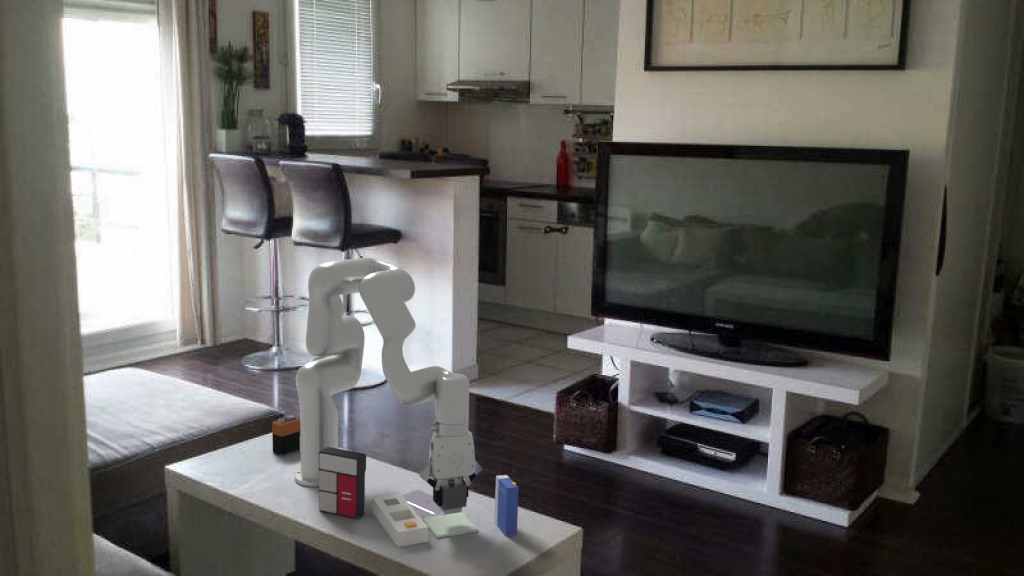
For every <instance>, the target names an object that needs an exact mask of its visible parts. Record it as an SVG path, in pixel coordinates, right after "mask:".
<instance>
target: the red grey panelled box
mask: <svg viewBox="0 0 1024 576" xmlns="http://www.w3.org/2000/svg"><path fill="white" fill-rule="evenodd" d="M366 470H367V454H366V453H363V452H359V451H351V450H347V449H342V448H338V449H337V448H331V447H327V448H325V449H323V450H321V451H319V487H318V510H319V511H320V512H324V513H330V514H334V515H339V516H344V517H349V518H353V519H359V518H361V517H362V516H363V515H364V514H365V512H366V511H365V509H366V507H365V506H366V504H365V503H366V502H365V501H366V500H365V498H366V483H365V482H366V479H365V478H366Z"/></svg>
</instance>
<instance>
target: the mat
mask: <svg viewBox="0 0 1024 576" xmlns="http://www.w3.org/2000/svg"><path fill="white" fill-rule="evenodd" d="M421 519H422V520H423V521H424V523H425V524H426V525H427V526H428V530H429V531H430V532H431V533H432V534H433V535H434V537H435V538H436V539H440V538H446V537H452V536H458V535H459V536H460V535H464V534H470V533H476V532H477V533H478V532H479V531H478V530H479V529H478V527H477V526H476V525H475V524H474V523H473V522H472V521H471V520H470V519H469V518H468V517H467V516H466V514H464V512H463V511H462V512H459V513H453V514H446V515H445V514H443V515H440V516H433V515H432V516H428V517H422V518H421Z"/></svg>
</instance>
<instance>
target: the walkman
mask: <svg viewBox="0 0 1024 576" xmlns="http://www.w3.org/2000/svg"><path fill="white" fill-rule="evenodd" d="M494 491H495V492H494V519H493V520H494V522H493V523H494V524H495V525H496V526H497V528H498V529H499V530H500V531H501V532H502V534H503V535H504V536H505V537H511V536H517V535H518V512H519V510H518V509H519V486H518V484H517V483H516V482H515V481H513V480H512V478H510V476H508V474H504V475H502V474H501V475H500V474H499V475H496V476H495V490H494Z"/></svg>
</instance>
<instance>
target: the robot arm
mask: <svg viewBox="0 0 1024 576" xmlns="http://www.w3.org/2000/svg"><path fill="white" fill-rule="evenodd" d="M310 272H311V273H310V274H309V277H308V281H307V282H308V284H307V289H308V311H307V312H308V313H307V320H306V321H307V322H306V323H307V324H306V333H305V348H306V351H307V352H308V354H309V355H310V356H312V357H314V358H320V359H315V360H311V361H308V362H306V363H304V364H302V365H301V366H300V367H299V369H298V370H297V371H296V374H295V385H296V390H297V394H298V402H299V417H300V418H299V419H300V469H299V470H297V471H296V472H295V473H294V481H295V482H296V483H298V484H299V485H301V486H305V487H314V488H319V451H321V450H323V449H325V448H327V447H331V448H337V449H339V416H338V415H339V414H338V409H337V406H336V404H335V403H334V401H333V399H332V395H334V394H337V393H342V392H344V391H347V390H348V391H349V390H351V389H353V388H355V387H356V386H357V384H358V383H359V381H360V379H361V375H362V374H361V373H362V367H363V357H364V348H365V340H366V338H365V336H366V335H365V330H364V327H363V325H362V323H361V322H360V321H359V319H358V318H357V317H354V316H352V315H344V314H343V313H344V304H343V303H344V302H343V299H342V297H341V296H343V295H344V296H345V295H349V294H356V293H357V294H358V293H359V296H360V297H361V299H362V301H363V303H364V305H365V307H366V309H367V311H368V313H369V315H370V317H371V318H372V321H373V322H374V325H375V326H376V329H377V330H378V333H379V335H380V336H381V338H382V340H383V344H382V349H381V368H382V373H383V375H384V378H385V379H386V382H387V384H388V386H389V387H390V389H391V391H392V394H394V396H395V397H396V399H397V400H398V401H399V402H400V403H402V404H403V405H404V406H409V407H412V406H417V405H420V404H423V403H427V402H429V401H433V400H435V420H434V423H433V424H430V425H429V431H431V432H432V431H433V433H432V436H431V440H430V445H429V452H428V453H429V454H428V463H427V464H426V466H425V467H424V468H423V469H422V470H421V472H420V473H419V477H420V478H421V480H423V481H424V482H425V483H427V484H428V485H429V486H430V487H432V496H433V501H434V502H435V503H436V504H437V505H438V506H439V507H441V506H442V490H441V489H440V487H441V484H442V481H443V480H445V479H451V478H460V480H461V481H462V482H463V483H464V484H465V485H466V486H467V490H466V503H468V497H469V493H470V492H469V490H470V489H469V486H471V484H472V482H473V480H474V479H475V478H476V476H477V475H479V473H480V472H481V471H482V470H483V466H481V465H480V464H479V463H478V461H477V460H476V457H475V454H476V453H475V452H476V451H475V445H474V436H473V433H472V431H469V418H470V417H469V415H470V413H469V412H470V410H469V409H470V401H469V400H470V379H469V377H468V376H466V375H465V374H462V373H459V372H458V373H457V372H452V371H450V370H448V369H445V368H444V367H442V366H438V365H432V366H428V367H424V368H420V369H416V370H412V371H411V370H410V369H409V366H408V365H407V362H406V360H405V357H404V353H403V352H404V351H403V346H404V342H405V340H406V339H407V338H408V337H409V336H410V335H411V334H412V333H413V332H414V330H416V321H415V319H414V317H413V315H412V314H411V312H410V309H409V308H408V306H407V305H406V303H407V302H409V301H410V300H412V298H413V297H414V295H415V292H416V286H415V285H416V284H415V281H414V279H413V277H412V275H410V274H409V272H408V271H406V270H405V269H403V268H402V267H398V266H396V265H393V264H391V263H388V262H385V261H382V260H380V259H377V258H374V257H359V258H350V259H340V260H334V261H328V262H327V261H326V262H323V263H320V264H319V265H317V266H315V267H314V268H313V269H312V270H311V271H310ZM429 474H431V475H432V476H433V477H432V478H431V476H429Z"/></svg>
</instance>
